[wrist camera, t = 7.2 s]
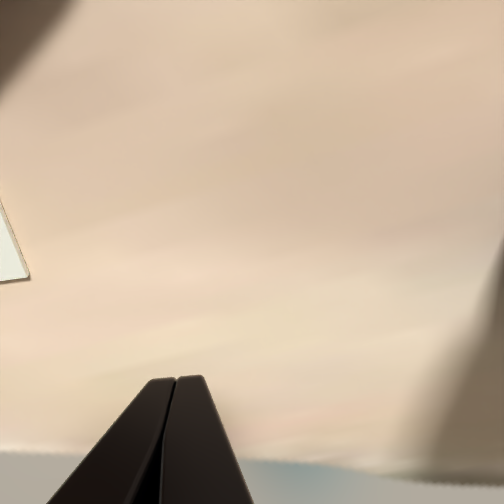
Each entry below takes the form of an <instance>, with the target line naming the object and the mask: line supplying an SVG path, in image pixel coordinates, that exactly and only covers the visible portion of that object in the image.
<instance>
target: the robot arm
mask: <svg viewBox="0 0 504 504" xmlns="http://www.w3.org/2000/svg"><path fill="white" fill-rule="evenodd" d="M46 504H254V502H253V500H252V497H251V495H250V492H249V490H248V487H247V485H246V482H245V480H244V477H243V475H242V472H241V470H240V467H239V464H238V462H237V459H236V457H235V454H234V452H233V449H232V447H231V444H230V442H229V439H228V437H227V434H226V432H225V429H224V427H223V424H222V422H221V419H220V417H219V414H218V411H217V409H216V406H215V404H214V401H213V399H212V396H211V394H210V391H209V389H208V386H207V384H206V381H205V379H204V377H203V376H202V375H190V376H181V377H179V378H178V379H175V378H174V377H168V378H157V379H152V380H150V381H149V382H148V383H147V384H146V385H145V386H144V387H143V389H142V390H141V391H140V392H139V393H138V395H137V396H136V397H135V398H134V399H133V400H132V402H131V403H130V404H129V405H128V406H127V408H126V409H125V410H124V411H123V412H122V414H121V415H120V416H119V417H118V418H117V420H116V421H115V422H114V423H113V424H112V426H111V427H110V428H109V429H108V430H107V432H106V433H105V434H104V435H103V436H102V438H101V439H100V440H99V441H98V442H97V444H96V445H95V446H94V447H93V448H92V450H91V451H90V452H89V453H88V454H87V456H86V457H85V458H84V459H83V460H82V462H81V463H80V464H79V465H78V466H77V468H76V469H75V470H74V471H73V472H72V474H71V475H70V476H69V477H68V478H67V480H66V481H65V482H64V483H63V484H62V485H61V487H60V488H59V489H58V491H57V492H56V493H55V494H54V495H53V496H52V497H51V499H50V500H49V501H48V502H47V503H46Z"/></svg>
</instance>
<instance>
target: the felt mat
mask: <svg viewBox="0 0 504 504" xmlns="http://www.w3.org/2000/svg"><path fill="white" fill-rule="evenodd" d="M29 274H30V273H29V271H28V268H27V266H26V263H25V261H24V258H23V256H22V254H21V251H20V249H19V246H18V244H17V241H16V239H15V236H14V234H13V231H12V229H11V226H10V224H9V222H8V219H7V217H6V214H5V212H4V209H3V207H2V204H1V202H0V281H4V280H11V279H19V278H26V277H28V275H29Z"/></svg>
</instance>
